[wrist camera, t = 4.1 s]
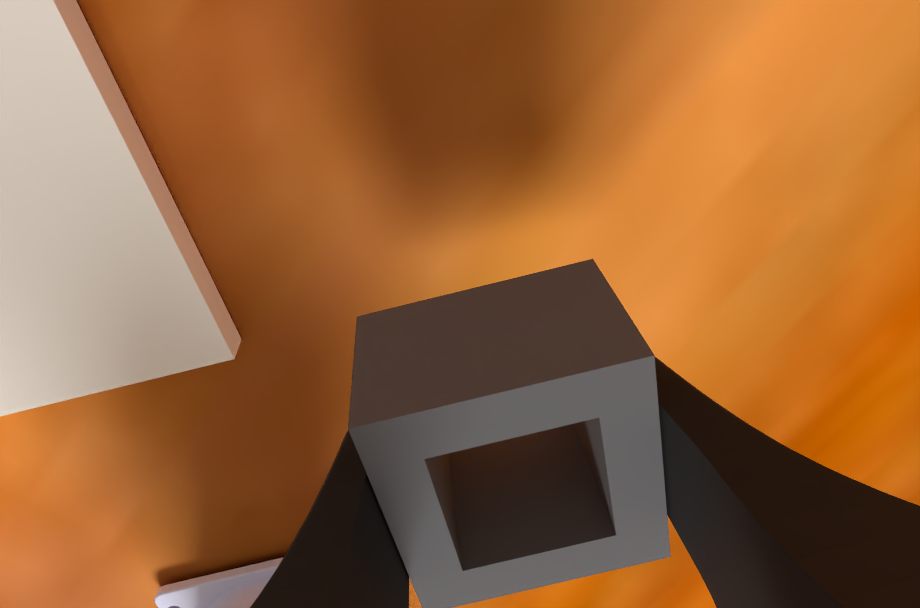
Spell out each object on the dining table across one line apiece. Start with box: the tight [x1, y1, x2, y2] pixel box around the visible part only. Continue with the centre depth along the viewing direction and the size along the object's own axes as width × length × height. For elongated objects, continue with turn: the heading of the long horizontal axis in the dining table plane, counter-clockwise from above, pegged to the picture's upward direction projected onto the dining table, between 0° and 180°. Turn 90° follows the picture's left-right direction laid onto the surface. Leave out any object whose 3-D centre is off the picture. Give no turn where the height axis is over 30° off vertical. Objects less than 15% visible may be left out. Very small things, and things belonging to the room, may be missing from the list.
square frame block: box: [348, 259, 670, 608], centre depth 13 cm, size 5×5×4 cm
